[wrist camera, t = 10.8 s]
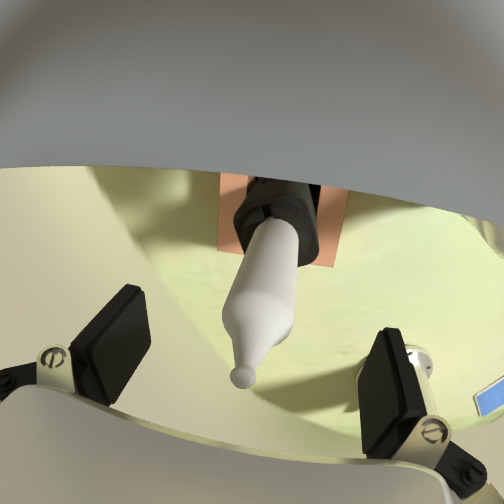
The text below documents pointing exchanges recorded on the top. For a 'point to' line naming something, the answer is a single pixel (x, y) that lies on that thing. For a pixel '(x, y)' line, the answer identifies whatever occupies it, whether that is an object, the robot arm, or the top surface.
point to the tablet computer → (490, 397)
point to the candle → (268, 270)
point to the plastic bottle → (489, 233)
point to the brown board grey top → (265, 92)
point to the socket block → (326, 208)
